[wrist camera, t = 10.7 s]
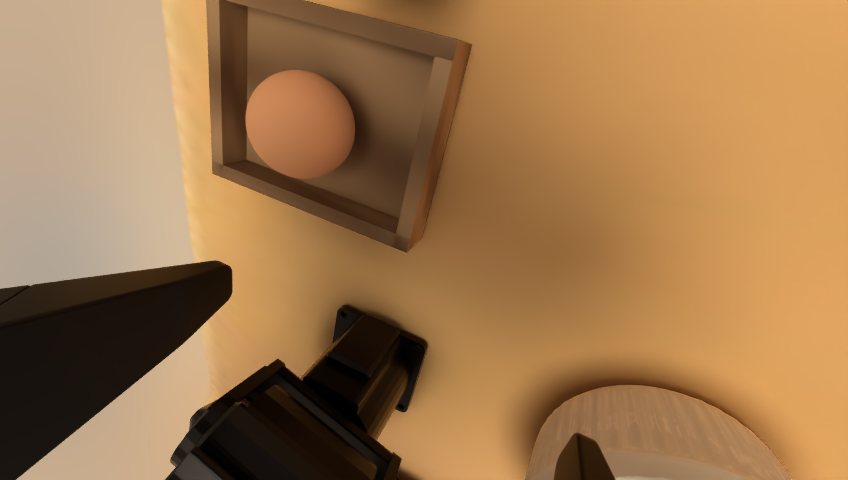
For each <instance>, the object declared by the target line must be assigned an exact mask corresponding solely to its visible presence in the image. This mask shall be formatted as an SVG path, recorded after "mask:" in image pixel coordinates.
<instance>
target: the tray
mask: <svg viewBox="0 0 848 480" xmlns="http://www.w3.org/2000/svg"><path fill="white" fill-rule="evenodd" d="M206 5H207V32H208V60H209V88H210V116H211V144H212V171H213V174H215V175H217V176H220V177H222V178H225V179H227V180H230V181H232V182H235V183H237V184H239V185H242V186H244V187H247V188H249V189H252V190H254V191H257V192H259V193H262V194H264V195H266V196H269V197H271V198H274V199H276V200H279V201H281V202H284V203H286V204H288V205H291V206H293V207H296V208H298V209H301V210H303V211H306V212H308V213H311V214H313V215H315V216H318V217H320V218H323V219H325V220H328V221H330V222H333V223H335V224H337V225H340V226H342V227H345V228H347V229H350V230H352V231H355V232H357V233H360V234H362V235H364V236H367V237H369V238H372V239H374V240H377V241H379V242H382V243H384V244H387V245H389V246H391V247H394V248H396V249H399V250H401V251H404V252H406V253H407V252H408V251H409V250H410V249H411V248H412V247H413V246H414V245H415V244H416V243H417V242H418V241H419V240H420V239H421V238H422V236H423V232H424V228H425V224H426V220H427V216H428V212H429V209H430V205H431V201H432V197H433V193H434V189H435V185H436V181H437V178H438V174H439V170H440V166H441V162H442V158H443V154H444V150H445V147H446V143H447V139H448V135H449V131H450V127H451V123H452V119H453V116H454V112H455V108H456V104H457V100H458V96H459V92H460V89H461V85H462V81H463V77H464V73H465V69H466V65H467V61H468V58H469V54H470V50H471V46H472V45H471V44H469V43H466V42H463V41H461V40H458V39H454V38H450V37H446V36H442V35H438V34H434V33H430V32H427V31H423V30H419V29H415V28H411V27H407V26H403V25H399V24H395V23H391V22H387V21H383V20H379V19H375V18H371V17H367V16H363V15H359V14H355V13H351V12H347V11H343V10H339V9H335V8H331V7H327V6H324V5H320V4H316V3H312V2H308V1H304V0H206ZM287 70H304V71H309V72H312V73H315V74H318V75H320V76H322V77H324V78H326V79H327V80H329V81H330V82H332V83H333V84H334V85H335V86H336V87H337V88H338V89H339V90H340V91H341V92H342V94H343V95H344V96H345V98H346V99H347V101H348V103H349V105H350V107H351V110H352V112H353V116H354V121H355V138H354V143H353V146H352V148H351V151H350V153H349V155H348V156H347V158H346V159H345V161H344V162H343V163H342V164H341V165H340V166H339V167H338V168H336V169H335V170H334V171H332V172H330V173H328V174H326V175H324V176H321V177H317V178H311V179H300V178H293V177H289V176H287V175H284V174H281V173H279V172H277V171H276V170H274V169H273V168H271V167H270V166H268V165H267V164H266V163H265V162H264V161H263V160H262V159H261V158H260V157H259V156H258V154H257V153H256V151H255V150H254V148H253V146H252V144H251V142H250V140H249V137H248V134H247V130H246V119H245V117H246V109H247V105H248V102H249V99H250V97H251V95H252V93H253V92H254V90H255V89H256V88H257V86H258V85H259V84H260V83H262V82H263V81H264V80H265V79H267V78H268V77H270V76H271V75H274V74H276V73H279V72H282V71H287Z"/></svg>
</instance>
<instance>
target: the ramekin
mask: <svg viewBox="0 0 848 480" xmlns="http://www.w3.org/2000/svg"><path fill="white" fill-rule="evenodd" d="M576 432H578V433H581V434H583V435H585V436H587V437H589V438H592V439H594V440H595V441H596V442H597V443H598V445H599V447H600V449H601V451H602V453H603V455H604V457H605V459H606V461H607V463H608V465H609V467H610V469H611V471H612V473H613V475H614V477H615V479H616V480H793V479H792V477H791V476H790V475H789V473H788V472H787V471H786V469H785V468H784V467H783V465H782V464H781V463H780V462H779V461H778V459H777V458H776V457H775V456H774V454H773V453H772V452H771V451H770V449H769V448H768V447H767V446H766V445H765V444H764V443H763V442H762V441H761V440H760V439H759V438H758V437H757V436H756V435H755V434H754V433H753V432H752V431H751V430H750V429H748V428H747V427H745V426H744V425H742V424H741V423H740V422H739V421H738V420H736V419H735V418H733V417H731V416H729V415H728V414H726V413H724V412H723V411H721V410H720V409H718V408H717V407H714V406H712V405H709V404H707V403H705V402H704V401H702V400H699V399H696V398H693V397H690V396H687V395H685V394H682V393H678V392H675V391H671V390H667V389H663V388H658V387H652V386H644V385H614V386H607V387H601V388H597V389H593V390H590V391H587V392H584V393H582V394H580V395H577V396H574V397H573V398H571V399H569V400H567V401H565V402H564V403H563V404H562V405H561V406H559V407H558V408H556V409H555V410H554V411H553V412H552V414H551V415H550V416H548V418H547V419H546V422H545V423H544V424H543V425H542V427H541V429H540V432H539V434H538V436H537V439H536V442H535V445H534V448H533V452H532V455H531V458H530V462H529V466H528V470H527V474H526V478H525V480H553V479H554V474H555V468H556V463H557V460H558V457H559V455H560V453H561V452H562V450H563V449H564V447H565V446H566V444H567V443H568V441H569V440H570V438H571V437H572V435H573V434H574V433H576Z"/></svg>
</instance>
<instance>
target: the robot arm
mask: <svg viewBox="0 0 848 480" xmlns="http://www.w3.org/2000/svg"><path fill="white" fill-rule="evenodd" d="M231 295H232V269H231V267H230V266H228V265H226V264H224V263H222V262H220V261H207V262H200V263H192V264H186V265H177V266H170V267H162V268H155V269H147V270H140V271H132V272H125V273H117V274H110V275H103V276H94V277H87V278H80V279H72V280H64V281H57V282H49V283H42V284H35V285H32V286H28V285H26V286H18V287H12V288H3V289H0V480H16V479H17V478H18V477H20V476H21V475H22V474H23V473H25V472H26V471H27V470H28V469H29V468H31V467H32V466H33V465H35V464H36V463H37V462H38V461H39V460H41V459H42V458H43V457H44V456H46V455H47V454H48V453H49V452H50V451H52V450H53V449H54V448H55V447H57V446H58V445H59V444H60V443H62V442H63V441H64V440H65V439H66V438H68V437H69V436H70V435H71V434H73V433H74V432H75V431H76V430H78V429H79V428H80V427H81V426H82V425H84V424H85V423H86V422H87V421H89V420H90V419H91V418H92V417H94V416H95V415H96V414H97V413H99V412H100V411H101V410H102V409H103V408H105V407H106V406H107V405H108V404H109V403H111V402H112V401H113V400H115V399H116V398H117V397H118V396H119V395H121V394H122V393H123V392H124V391H126V390H127V389H128V388H129V387H131V386H132V385H133V384H134V383H135V382H137V381H138V380H139V379H140V378H142V377H143V376H144V375H145V374H146V373H148V372H149V371H150V370H151V369H153V368H154V367H155V366H156V365H158V364H159V363H160V362H161V361H162V360H164V359H165V358H166V357H167V356H169V355H170V354H171V353H172V352H174V351H175V350H176V349H177V348H178V347H180V346H181V345H182V344H183V343H184V342H185V341H186V340H187V339H188V338H190V337H191V336H192V335H193V334H194V333H195V332H196V331H197V330H198V329H199V328H200V327H201V326H202V325H203V324H204V323H205V322H206V321H207V320H208V319H209V318H210V317H211V316H212V315H213V314H214V313H216V312H217V311H218V310H219V309H220V308H221V307H222V306H223V305H224V304H225V303H226V302H227V301H228V300H229V298H230V297H231ZM345 312H346V314H345ZM417 346H419V347H420V348H421V349H419V348H418V347H417ZM426 352H427V344H426V343H425V342H424V341H423V340H421V339H419V338H417V337H415V336H412V335H410V334H408V333H406V332H404V331H402V330H399V329H397V328H395V327H393V326H391V325H389V324H386V323H384V322H382V321H380V320H378V319H376V318H374V317H371V316H369V315H367V314H365V313H363V312H361V311H358V310H356V309H354V308H352V307H350V306H347V305H343V306H342V307H341V308H339V309H338V311H337V318H336V324H335V331H334V337H333V344H332V345H331V346H330V347H329V348H328V349H327V351H326V352H325V353H324V354H323V355H322V356H321V357H320V358H319V359H318V360H317V361H316V362H315V363H314V364H313V365H312V366H311V367H310V368H309V369H308V371H307V372H306V373H305V374H304V375H303V376H302V377H301V378H299V377H297V376H296V375H295V374H294V373H293V372H291V371H290V370H289V369H288V368H286V367H285V364H284V363H283V362H282V361H281V360H279V359H277V360H275V361H274V362H273V363H271V364H270V365H268V366H264V367H262V368H261V369H260V370H258V371H257V372H255V373H254V374H253V375H251V376H250V377H248V378H247V379H246V380H244V381H243V382H241V383H240V384H239V385H237V386H236V387H235V388H233V389H232V390H230V391H229V392H228V393H226V394H225V395H223V396H222V397H221V398H219V399H218V400H216V401H214V402H212V403H210V404H208V405H206V406H204V407H202V408H200V409H199V410H198V411H197V412H196V413H195V414H194V415H193V416H192V417H191V419H190V428H189V432H188V433H187V434H186V436H185V437H184V439H183V440H182V441H181V443H180V444H179V445H178V447H177V448H176V450H175V451H174V453H173V455H172V457H171V459H170V461H171V463H172V464H173V465H174V466H175V467H176V468H175V469H174V470H173V471H172V472H171V474H170V475H169V476H168V477H167V478H166V479H165V480H395V477H396V474H397V472H398V469H399V466H400V463H401V460H402V459H401V458H400V457H399V456H398V455H396V454H395V453H394V452H393V453H391V452H390V451H389V450H387V449H386V448H385V447H384V446H382V445H381V444H380V443H379V442H378V441H377V439H378V437H379V435H380V434H381V432H382V430H383V428H384V427H385V425H386V423H387V421H388V420H389V418H390V416H391V414H392V413H393V411H394V409H396V410H398V411H401V412H406V411H407V409H408V407H409V405H410V402H411V399H412V396H413V393H414V390H415V386H416V383H417V380H418V377H419V374H420V371H421V367H422V364H423V361H424V358H425V355H426ZM553 480H616V479H615V477H614V475H613V473H612V471H611V469H610V467H609V465H608V463H607V461H606V459H605V457H604V455H603V453H602V451H601V449H600V447H599V445H598V443H597V442H596V441H595V440H594V439H592V438H589V437H587V436H585V435H583V434H581V433H578V432H576V433H574V434H573V435H572V437H571V438H570V440H569V441H568V443H567V444H566V446H565V447H564V449H563V450H562V452H561V453H560V455H559V457H558V460H557V463H556V468H555V474H554V479H553Z"/></svg>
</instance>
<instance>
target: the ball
mask: <svg viewBox="0 0 848 480" xmlns="http://www.w3.org/2000/svg"><path fill="white" fill-rule="evenodd" d="M245 119H246V130H247V134H248V137H249V140H250V142H251V144H252V146H253V148H254V150H255V151H256V153H257V154H258V156H259V157H260V158H261V159H262V160H263V161H264V162H265V163H266V164H267V165H268V166H270V167H271V168H273V169H274V170H276V171H277V172H279V173H281V174H284V175H287V176H289V177H293V178H300V179H311V178H317V177H321V176H324V175H326V174H328V173H330V172H332V171H334V170H335V169H336V168H338V167H339V166H340V165H341V164H342V163H343V162H344V161H345V159H346V158H347V156H348V155H349V153H350V151H351V148H352V146H353V143H354V138H355V121H354V116H353V112H352V110H351V107H350V105H349V103H348V101H347V99H346V98H345V96H344V95H343V94H342V92H341V91H340V90H339V89H338V88H337V87H336V86H335V85H334V84H333V83H332V82H330V81H329V80H327V79H326V78H324V77H322V76H320V75H318V74H315V73H312V72H309V71H304V70H287V71H282V72H279V73H276V74H274V75H271V76H270V77H268V78H267V79H265V80H264V81H263V82H262V83H260V84H259V85H258V86H257V88H256V89H255V90H254V92H253V93H252V95H251V97H250V99H249V102H248V105H247V109H246V117H245Z"/></svg>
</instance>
